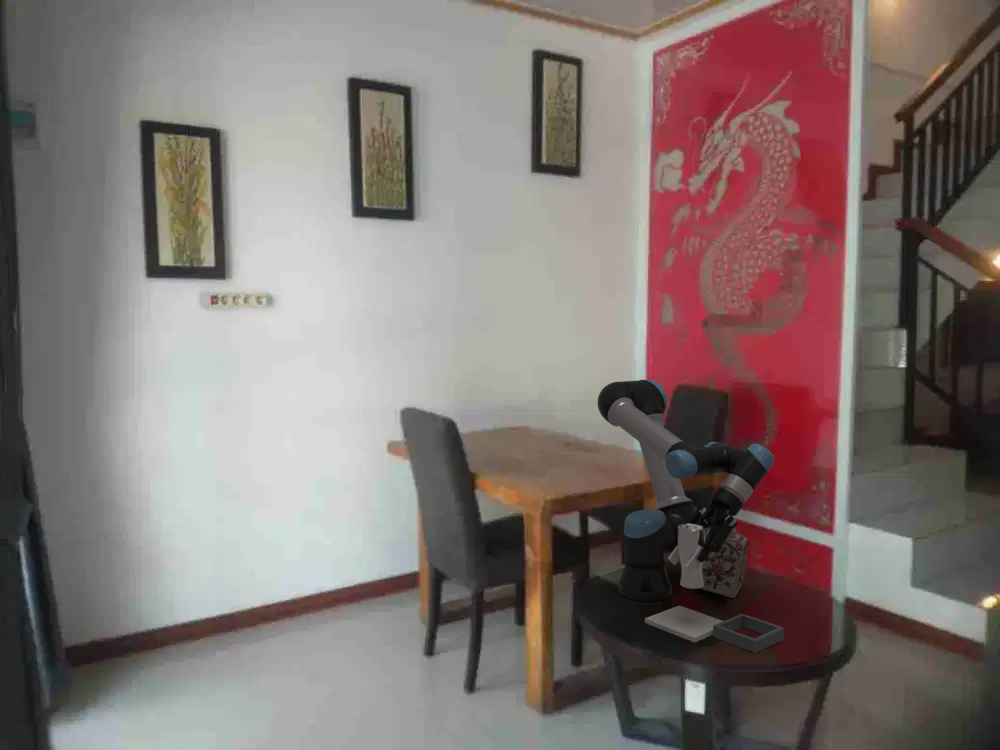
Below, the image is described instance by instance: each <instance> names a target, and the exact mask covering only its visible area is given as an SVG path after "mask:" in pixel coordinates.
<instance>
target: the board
mask: <svg viewBox="0 0 1000 750" xmlns="http://www.w3.org/2000/svg"><path fill="white" fill-rule="evenodd" d="M723 621H724V620H721V619H718V618H715V617H713V616H710V615H707V614H704V613H701V612H699V611H697V610H694V609H691V608H687V607H685V606H681V605H677V606H675V607H672V608H669V609H667V610H664V611H661V612H659V613H656V614H654V615H653V614H652V615H650V616H648V617H647V616H646V617H645V618H644V624H646V623H647V624H646V625H648V626H649V625H650V626H652V627H654V628H656V629H659V630H661V631H665V632H666V633H669V634H672V635H674V636H676V637H679V638H682V639H684V640H686V641H689V640H690V642H692V643H694V642H695V643H697V642H700V641H702V640H704V639H707V638H709V637H711V636H713V625H716V624H718V623H721V622H723ZM706 637H707V638H706ZM699 640H700V641H699Z"/></svg>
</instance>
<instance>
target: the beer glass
mask: <svg viewBox="0 0 1000 750" xmlns="http://www.w3.org/2000/svg"><path fill="white" fill-rule="evenodd" d="M704 542H705V528H704V526H702V525H698V524H682V525H679V526H678V540H677V544H678V554H679V559H680V560H679V563H680V578H679V586H680V587H683V588H686V589H691V590H692V589H693V590H694V589H696V590H697V589H700V588H702V587H703V586H704V581H703V575H702V568H703V562H704V561H703V562H701V564H700V565H699V566H698V568H697V569H696V570H695V572H694V573H691V572H690V571H689V570H688V569H687V568H686V567H685V566H686V564H687V563H688V561H689V560H690V559H691V557H692V556H693V555H694V553H695V552H696V551H697V550H698V548H699V547H700V546H701V547H703V546H702V545H701V544H704ZM703 548H704V547H703Z"/></svg>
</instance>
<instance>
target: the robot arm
mask: <svg viewBox="0 0 1000 750" xmlns="http://www.w3.org/2000/svg"><path fill="white" fill-rule="evenodd" d="M668 401H669V400H668V396H667V393H666V390H665V389H664V387H663V386H662V385H661V384H660V383H659V382H657V381H655V380H652V379H638V380H625V381H623V380H622V381H613V382H610V383H609V384H607V385H605V386H603V388H602V389H601V390H600V392H599V394H598V397H597V408H598V411H599V413H600V415H601V416H602V418H603V419H604V420H605V421H606V422H608V423H609V424H610V425H611V426H613V427H620V428H621V429H622V430H623V431H624V432H626V433H627V434H628V435H630V436H631V437H632V438H633V439H634V440H636V441H637V442H638V443H639V447H640V450H641V453H642V457H643V459H644V462H645V466H646V469H647V472H648V477H649V479H650V482H651V486H652V489H653V493H654V496H655V499H656V502H657V505H656V507H655V508H654V509H653V508H651V509H649V508H647V509H640V510H635V511H632V512H630V513H629V514H628V515H627V516H626V517H625V519H624V528H623V533H624V567H623V570H622V573H621V576H620V580H619V582H618V592H619V594H620V596H622V597H624V598H625V599H626V598H627V599H631V600H634V601H640V602H658V601H663V600H667V599H669V598H670V597H671V596H672V592H673V591H672V590H673V589H672V588H673V586H672V583H671V581H670V579H669V575H668V571H667V568H666V555H667V554H669V555H668V557H667V560H668V561H670V562H671V563H672V565H674V566H676V565H677V564H678V563H679V562H680V559H679V554H678V544H677V540H678V526H679V525H682V524H698V525H702V526H704V528H705V534H706V532H707V531H708V530H709V529H710V530H709V532H708V535H707V537H706V540H705V542H704V544H701V545H702V546H703V547H704V548H703V547H701V546H700V547H699V548H698V550H697V551H696V552H695V553H694V555H693V556H692V557H691V559H690V560H689V561H688V563H687V564H686V566H685V567H686V568H687V569H688V570H689V571H690V572H691V573H694V572H695V570H696V569H697V568H698V566H699V565H700V564H701V562H703V561H704V560H705V558H706V557H707V556H708V554H709V553H712V552H715V553H718V552H719V550H720V548H721V547H722V545H723V543H724V542H725V540H726V539H727V537H728V535H729V534H730V532H731V531H732V529H733V528H734V529H735V527H736V526H737V525H738V524H739V523H738V521H737V519H736V518H734V517H735V516H737V515H738V513H739V512H740V511H741V509H742V508H743V506H744V504H746V502H747V501H748V500H749V498H750V497H751V495H752V494H753V493H754V491H755V489H757V487H758V486H759V484H760V483H761V482H762V480H763V479H764V478H765V476H766V475H767V474H768V473H769V471H770V470H771V468H772V466H773V465H774V462H775V457H774V455H773V453H772V452H771V451H770V450H769V449H768V448H766V447H765V446H764V445H761V444H759V443H752V444H750V445H749V446H748V447H746V450H745V449H741V448H738V447H734V446H730V445H727V444H725V443H723V442H717V441H710V442H708V443H707V444H705V445H704V446H702V447H692V446H690V445H689V444H687V443H686V442H684V441H683V440H681V439H680V438H679V437H678V436H677V435H675V434H674V433H672V432H671V431H670V430H668V429H666V428H665V426H664V424H663V421H664V419H665V418H666V415H665V412H666V410H667V408H668ZM714 474H727V476H726V477H725V478H724V479H723V481H722V483H720V486H719V488H717V489H716V491H715V492H714V493H713V495H712V496H711V503H710V504H709V505H708V506H707V507H702V506H701V505H698V507H695V505H694V501H693V500H692V499H691V498H689V497H687V496H686V493H685V491H684V488H683V483H682V481H681V479H683V480H684V479H690V478H691V479H692V478H694V477H695V478H697V477H701V476H709V475H714ZM715 545H716V546H715Z"/></svg>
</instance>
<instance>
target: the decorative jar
mask: <svg viewBox="0 0 1000 750" xmlns="http://www.w3.org/2000/svg"><path fill="white" fill-rule="evenodd" d="M709 530H710V528H708V531H707V532H706V534H705V540H706V537H707V535H708V532H709ZM715 546H716V545H715ZM749 547H750V544H749V540H748V538H747V537H745V536H744V535H742V534H741V533H738V532H737V529H735V527H734V528H733V529H732V531H731V532H730V534H729V535H728V537H727V539H726V540H725V542H724V543H723V545H722V547H721V548H720V550H719V552H718V553H715V552H712V553H709V554H708V556H707V557H706V558H705V560H704V562H703V568H702V575H703V581H704V586H703V587H702V588H699V590H703V591H707V592H710V593H714V594H717V595H721V596H724V597H727V598H731V599H735V598H736V596H737V594H738V593H739V591H740V589H741V588H742V585H743V582H744V576H745V572H746V571H745V570H746V566H747V565H746V564H747V558H748V552H749V551H748V550H749Z"/></svg>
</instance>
